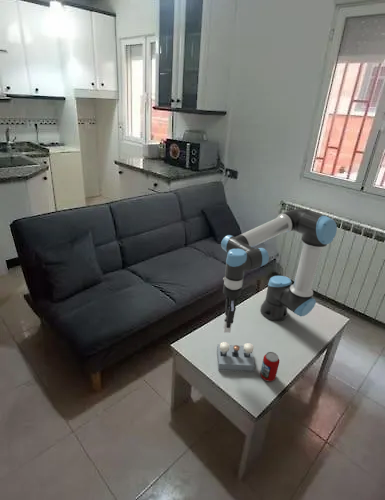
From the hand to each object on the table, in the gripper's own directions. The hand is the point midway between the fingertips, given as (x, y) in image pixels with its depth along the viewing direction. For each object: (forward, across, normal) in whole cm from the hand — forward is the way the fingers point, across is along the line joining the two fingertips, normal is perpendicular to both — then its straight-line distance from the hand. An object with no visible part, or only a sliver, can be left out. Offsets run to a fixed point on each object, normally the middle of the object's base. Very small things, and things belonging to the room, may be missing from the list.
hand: (226, 329), depth 136 cm
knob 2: (+14, 0, +11) cm, 18 cm away
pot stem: (+14, 0, +6) cm, 15 cm away
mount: (+18, 0, +6) cm, 19 cm away
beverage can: (+19, +8, +20) cm, 28 cm away
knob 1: (+14, 0, 0) cm, 14 cm away
